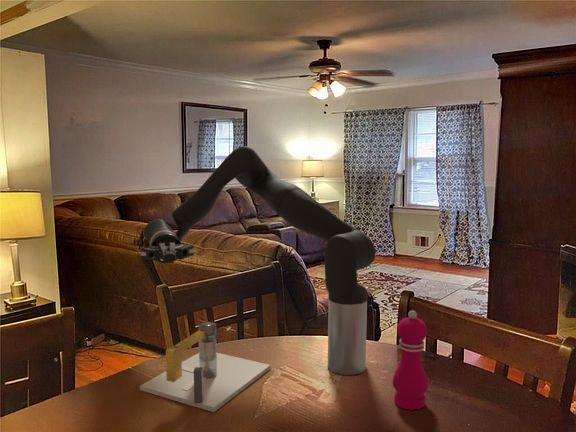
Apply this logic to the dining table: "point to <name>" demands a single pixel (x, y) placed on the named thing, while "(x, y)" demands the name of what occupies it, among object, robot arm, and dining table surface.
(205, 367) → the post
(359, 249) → the robot arm
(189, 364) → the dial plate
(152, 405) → the dining table surface
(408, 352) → the pepper mill
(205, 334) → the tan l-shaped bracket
